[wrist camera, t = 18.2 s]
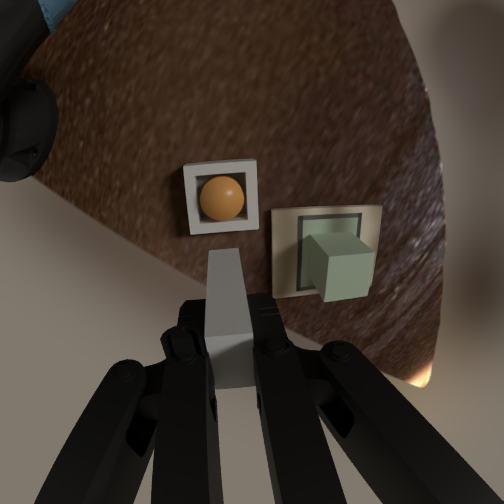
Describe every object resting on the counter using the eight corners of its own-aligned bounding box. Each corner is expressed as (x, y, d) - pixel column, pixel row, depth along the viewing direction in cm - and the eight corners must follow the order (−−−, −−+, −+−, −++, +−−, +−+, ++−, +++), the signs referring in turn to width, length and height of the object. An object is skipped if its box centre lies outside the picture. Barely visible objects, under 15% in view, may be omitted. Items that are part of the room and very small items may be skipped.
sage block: (307, 274, 38) (324, 302, 32) (310, 234, 36) (329, 256, 29) (346, 270, 39) (367, 295, 32) (350, 231, 36) (375, 252, 30)
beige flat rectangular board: (271, 295, 40) (273, 299, 39) (270, 208, 35) (272, 210, 34) (368, 283, 41) (371, 286, 40) (379, 204, 36) (382, 206, 35)
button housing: (192, 226, 34) (190, 234, 32) (186, 163, 31) (183, 166, 28) (255, 221, 35) (258, 228, 32) (253, 158, 32) (256, 160, 29)
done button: (203, 214, 33) (202, 222, 30) (200, 176, 31) (198, 180, 28) (242, 211, 33) (245, 218, 31) (240, 173, 32) (242, 176, 29)
